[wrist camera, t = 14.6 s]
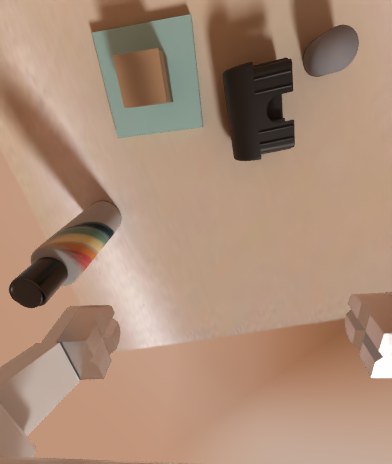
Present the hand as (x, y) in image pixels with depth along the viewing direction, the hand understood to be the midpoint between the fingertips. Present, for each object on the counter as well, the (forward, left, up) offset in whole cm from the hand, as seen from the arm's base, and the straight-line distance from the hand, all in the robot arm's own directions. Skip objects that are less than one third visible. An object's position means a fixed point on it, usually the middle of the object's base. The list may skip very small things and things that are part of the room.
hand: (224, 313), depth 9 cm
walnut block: (+8, -10, -30) cm, 32 cm away
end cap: (-5, -5, -31) cm, 32 cm away
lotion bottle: (+20, +8, -31) cm, 38 cm away
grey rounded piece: (-13, -10, -31) cm, 35 cm away
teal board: (+8, -10, -31) cm, 34 cm away
